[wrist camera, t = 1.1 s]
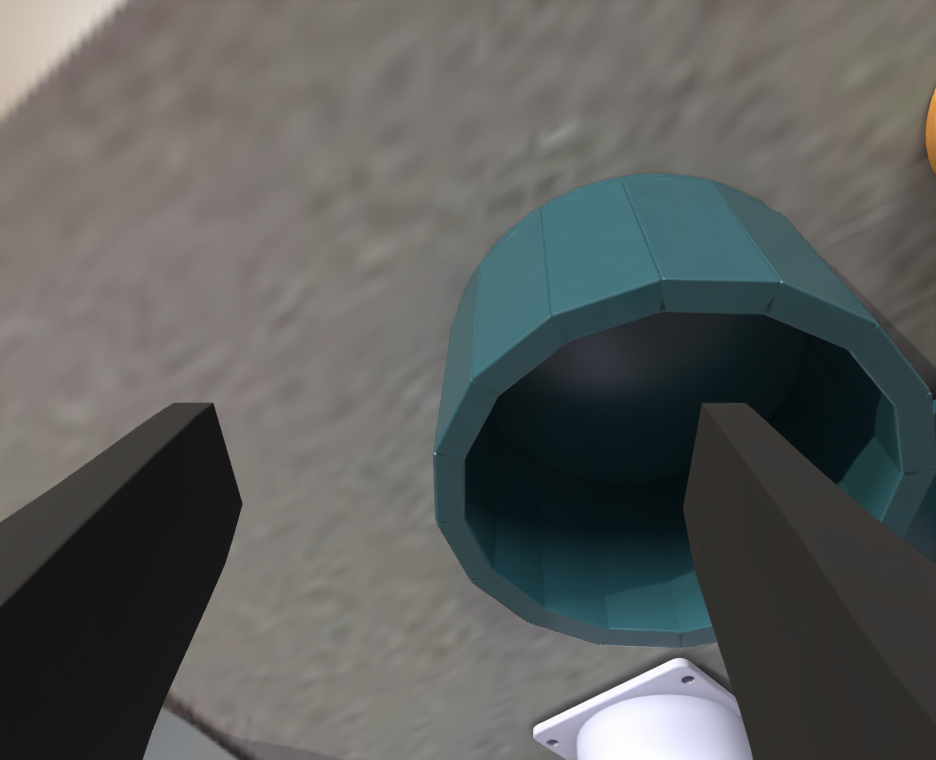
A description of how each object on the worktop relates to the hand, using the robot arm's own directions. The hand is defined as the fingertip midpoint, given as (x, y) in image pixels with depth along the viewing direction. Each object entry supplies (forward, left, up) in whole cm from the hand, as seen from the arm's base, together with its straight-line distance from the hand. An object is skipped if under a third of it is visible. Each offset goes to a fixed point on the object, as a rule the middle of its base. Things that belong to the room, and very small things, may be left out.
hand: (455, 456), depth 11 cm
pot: (-6, -1, -9) cm, 11 cm away
